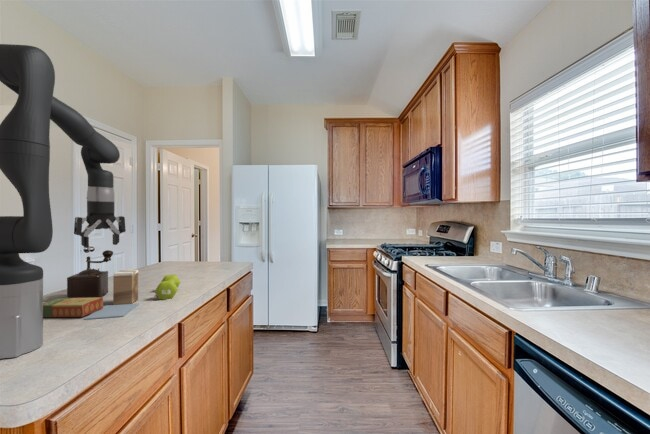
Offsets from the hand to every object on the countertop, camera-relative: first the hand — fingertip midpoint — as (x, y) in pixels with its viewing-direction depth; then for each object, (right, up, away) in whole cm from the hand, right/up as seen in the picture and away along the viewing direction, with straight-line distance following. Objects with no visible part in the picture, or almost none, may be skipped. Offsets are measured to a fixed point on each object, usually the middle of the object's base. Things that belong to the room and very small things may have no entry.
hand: (101, 245), depth 98 cm
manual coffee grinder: (-18, -23, +18) cm, 34 cm away
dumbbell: (+13, -23, +19) cm, 33 cm away
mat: (+6, -23, -2) cm, 24 cm away
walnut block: (+3, -23, +8) cm, 24 cm away
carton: (-7, -23, -4) cm, 24 cm away
